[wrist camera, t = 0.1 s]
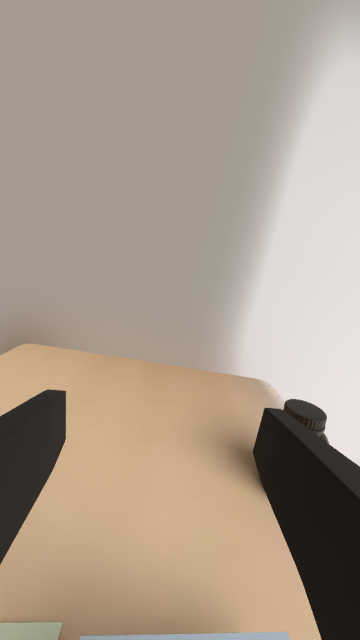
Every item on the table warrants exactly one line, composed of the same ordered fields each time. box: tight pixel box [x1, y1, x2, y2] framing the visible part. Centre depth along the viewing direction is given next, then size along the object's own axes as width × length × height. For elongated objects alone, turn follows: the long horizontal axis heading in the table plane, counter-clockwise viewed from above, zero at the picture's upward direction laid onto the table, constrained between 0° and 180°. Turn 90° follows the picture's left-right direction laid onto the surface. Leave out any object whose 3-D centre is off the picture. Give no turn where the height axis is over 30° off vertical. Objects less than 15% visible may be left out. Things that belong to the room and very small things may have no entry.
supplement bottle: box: [283, 399, 329, 444], centre depth 31 cm, size 7×7×12 cm
